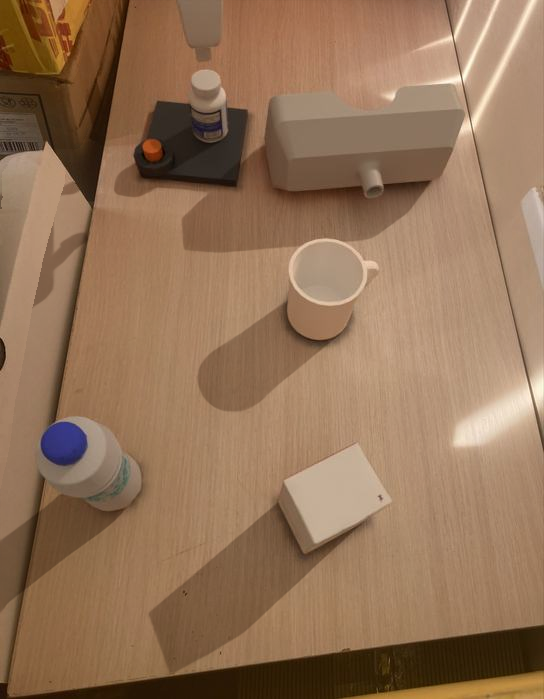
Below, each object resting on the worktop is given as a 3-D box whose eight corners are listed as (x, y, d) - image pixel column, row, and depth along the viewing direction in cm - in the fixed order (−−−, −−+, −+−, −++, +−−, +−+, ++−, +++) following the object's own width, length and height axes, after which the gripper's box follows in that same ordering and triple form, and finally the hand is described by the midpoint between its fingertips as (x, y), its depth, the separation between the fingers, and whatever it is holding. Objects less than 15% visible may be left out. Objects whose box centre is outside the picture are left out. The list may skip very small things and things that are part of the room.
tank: (277, 229, 75) (282, 164, 64) (263, 142, 81) (265, 70, 70) (449, 214, 77) (484, 149, 66) (423, 131, 84) (450, 58, 72)
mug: (294, 352, 67) (301, 313, 58) (275, 292, 71) (279, 247, 61) (376, 332, 69) (395, 291, 60) (353, 274, 72) (368, 228, 63)
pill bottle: (202, 113, 82) (197, 60, 74) (234, 124, 81) (232, 72, 73) (186, 136, 80) (179, 85, 71) (218, 148, 79) (214, 98, 71)
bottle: (130, 443, 62) (79, 383, 44) (157, 494, 60) (115, 452, 42) (76, 475, 60) (-1, 426, 42) (102, 528, 58) (33, 500, 40)
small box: (338, 468, 62) (358, 440, 50) (367, 520, 59) (395, 503, 48) (275, 501, 60) (281, 479, 48) (302, 555, 58) (315, 547, 46)
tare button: (143, 161, 76) (140, 151, 74) (146, 147, 77) (144, 137, 75) (161, 163, 76) (159, 153, 74) (164, 149, 77) (162, 139, 75)
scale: (134, 181, 78) (130, 166, 75) (153, 107, 84) (150, 91, 81) (235, 191, 78) (235, 176, 75) (247, 116, 84) (247, 100, 81)
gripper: (147, -153, 58) (166, -20, 70) (163, -36, 50) (181, 91, 62) (206, -156, 58) (214, -23, 71) (231, -40, 50) (235, 86, 63)
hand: (199, 31), depth 67 cm, fingers open, 8 cm apart
